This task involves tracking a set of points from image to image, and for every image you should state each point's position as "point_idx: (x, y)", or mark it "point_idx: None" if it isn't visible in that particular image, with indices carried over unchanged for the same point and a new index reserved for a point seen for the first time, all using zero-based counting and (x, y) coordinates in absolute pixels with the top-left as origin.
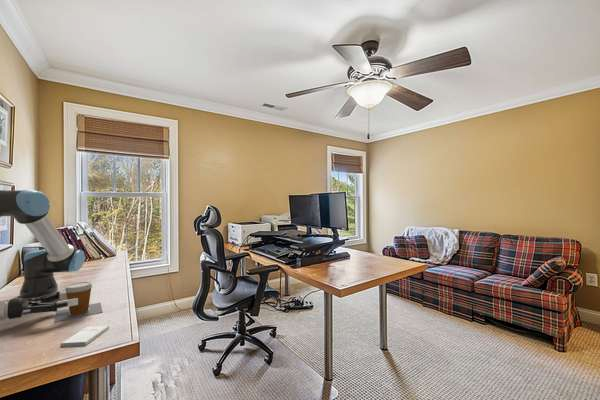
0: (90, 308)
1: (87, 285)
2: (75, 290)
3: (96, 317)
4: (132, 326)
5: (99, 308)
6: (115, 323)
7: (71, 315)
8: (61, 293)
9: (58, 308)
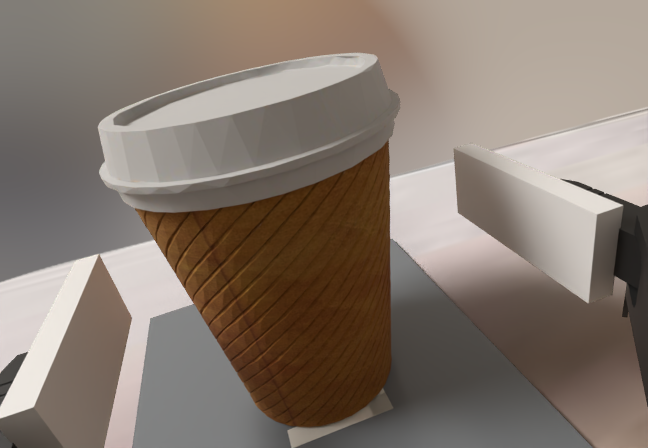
0: None
1: (313, 63)
2: (392, 94)
3: (483, 234)
4: (614, 116)
5: None
6: (584, 154)
7: (404, 384)
8: (46, 386)
9: (599, 287)
